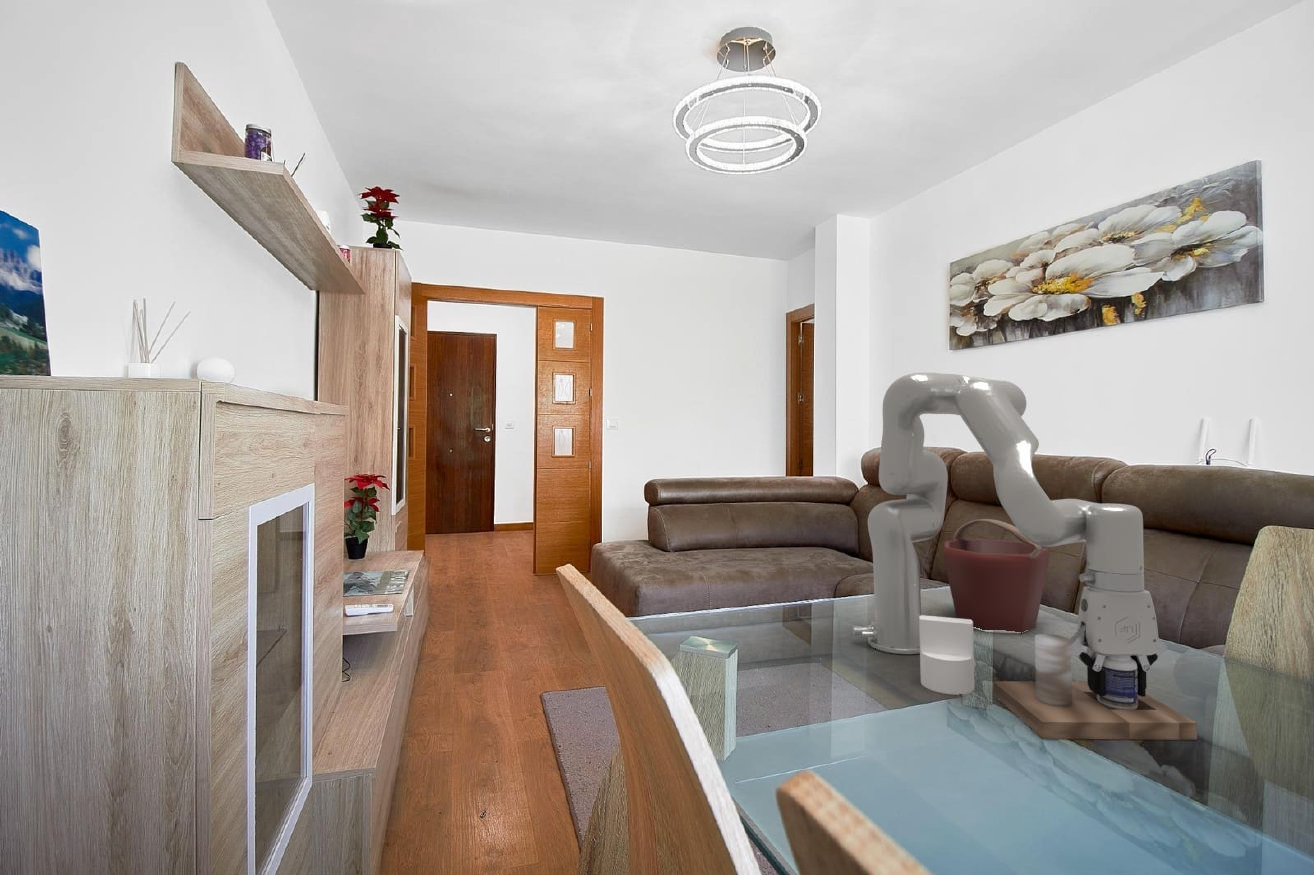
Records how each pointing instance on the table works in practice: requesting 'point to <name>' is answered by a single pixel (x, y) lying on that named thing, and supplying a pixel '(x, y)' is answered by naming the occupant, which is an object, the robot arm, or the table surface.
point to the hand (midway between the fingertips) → (1116, 692)
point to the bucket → (996, 579)
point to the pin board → (1083, 703)
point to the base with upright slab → (946, 654)
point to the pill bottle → (1120, 683)
